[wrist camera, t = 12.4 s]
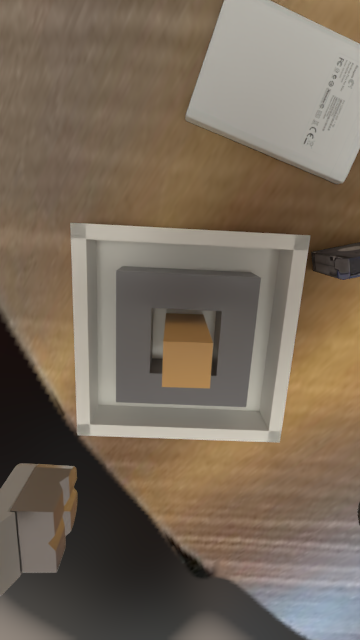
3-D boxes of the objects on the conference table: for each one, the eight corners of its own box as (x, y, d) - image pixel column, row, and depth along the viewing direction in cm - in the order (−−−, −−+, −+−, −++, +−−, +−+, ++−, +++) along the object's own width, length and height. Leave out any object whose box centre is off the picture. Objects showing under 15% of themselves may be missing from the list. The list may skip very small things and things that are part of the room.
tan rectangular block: (166, 313, 27) (163, 341, 20) (203, 314, 27) (213, 343, 20) (164, 348, 28) (161, 387, 21) (201, 349, 28) (209, 388, 21)
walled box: (85, 223, 26) (70, 222, 22) (290, 234, 26) (310, 235, 22) (89, 408, 30) (77, 435, 26) (266, 415, 31) (279, 442, 27)
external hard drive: (227, -5, 23) (387, 71, 24) (184, 122, 25) (334, 185, 26) (231, -22, 21) (402, 59, 22) (185, 115, 23) (344, 182, 24)
